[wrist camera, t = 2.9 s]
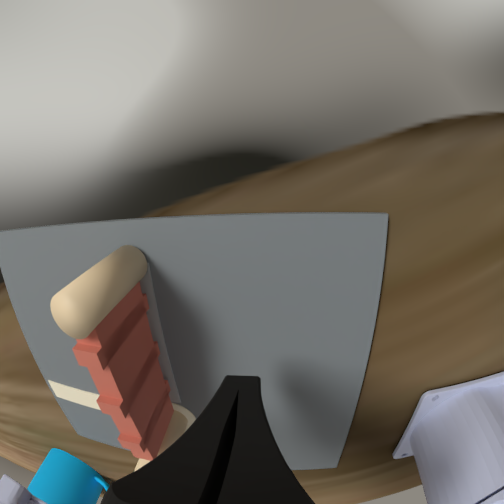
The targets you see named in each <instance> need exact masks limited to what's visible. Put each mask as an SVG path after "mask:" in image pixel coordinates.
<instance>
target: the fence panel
mask: <svg viewBox="0 0 504 504" xmlns="http://www.w3.org/2000/svg"><path fill="white" fill-rule="evenodd" d="M146 272H147V261H146V258H145V256H144V254H143V253H142V252H141V251H140V250H139V249H138V248H136V247H134V246H132V245H124V246H121V247H120V248H118V249H117V250H115V251H114V252H112V253H111V254H110V255H108V256H107V257H105V258H104V259H102V260H101V261H100V262H98V263H97V264H95V265H94V266H93V267H91V268H90V269H89V270H87V271H86V272H84V273H83V274H82V275H80V276H79V277H78V278H76V279H75V280H74V281H72V282H71V283H70V284H68V285H67V286H66V287H64V288H63V289H62V290H60V291H59V292H58V293H56V294H55V295H54V296H53V297H52V299H51V303H50V307H51V313H52V316H53V318H54V320H55V322H56V323H57V325H58V326H59V327H60V329H61V330H62V331H63V332H65V333H66V334H67V335H69V336H70V337H72V338H75V339H76V341H77V344H76V345H75V346H74V347H73V348H72V350H73V352H74V355H75V357H76V359H77V362H78V364H79V365H80V366H84V367H87V368H88V370H89V372H90V375H91V377H92V379H93V381H94V383H95V386H96V388H97V390H98V392H99V394H100V396H99V397H98V399H97V400H96V402H97V404H98V406H99V407H100V409H101V411H102V413H104V414H108V415H110V416H111V417H112V419H113V421H114V423H115V425H116V427H117V428H118V430H119V432H120V435H119V437H118V441H119V442H120V444H121V446H122V447H123V448H126V449H129V450H131V452H132V453H133V455H134V457H137V458H141V459H145V460H149V461H151V460H153V459H154V458H156V457H157V454H158V452H159V449H160V446H161V444H162V441H163V439H164V436H165V433H166V431H167V428H168V425H169V423H170V420H171V418H172V415H173V412H174V409H173V406H172V403H171V400H170V397H169V393H170V390H171V389H170V386H169V383H168V380H164V378H163V374H162V371H161V367H160V364H159V360H158V357H159V355H160V350H159V347H158V343H157V341H153V338H152V334H151V330H150V326H149V322H148V318H147V314H146V312H147V311H148V309H149V305H148V300H147V295H146V294H144V293H142V291H141V286H140V280H141V279H142V278H143V277H144V276H145V274H146Z"/></svg>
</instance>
